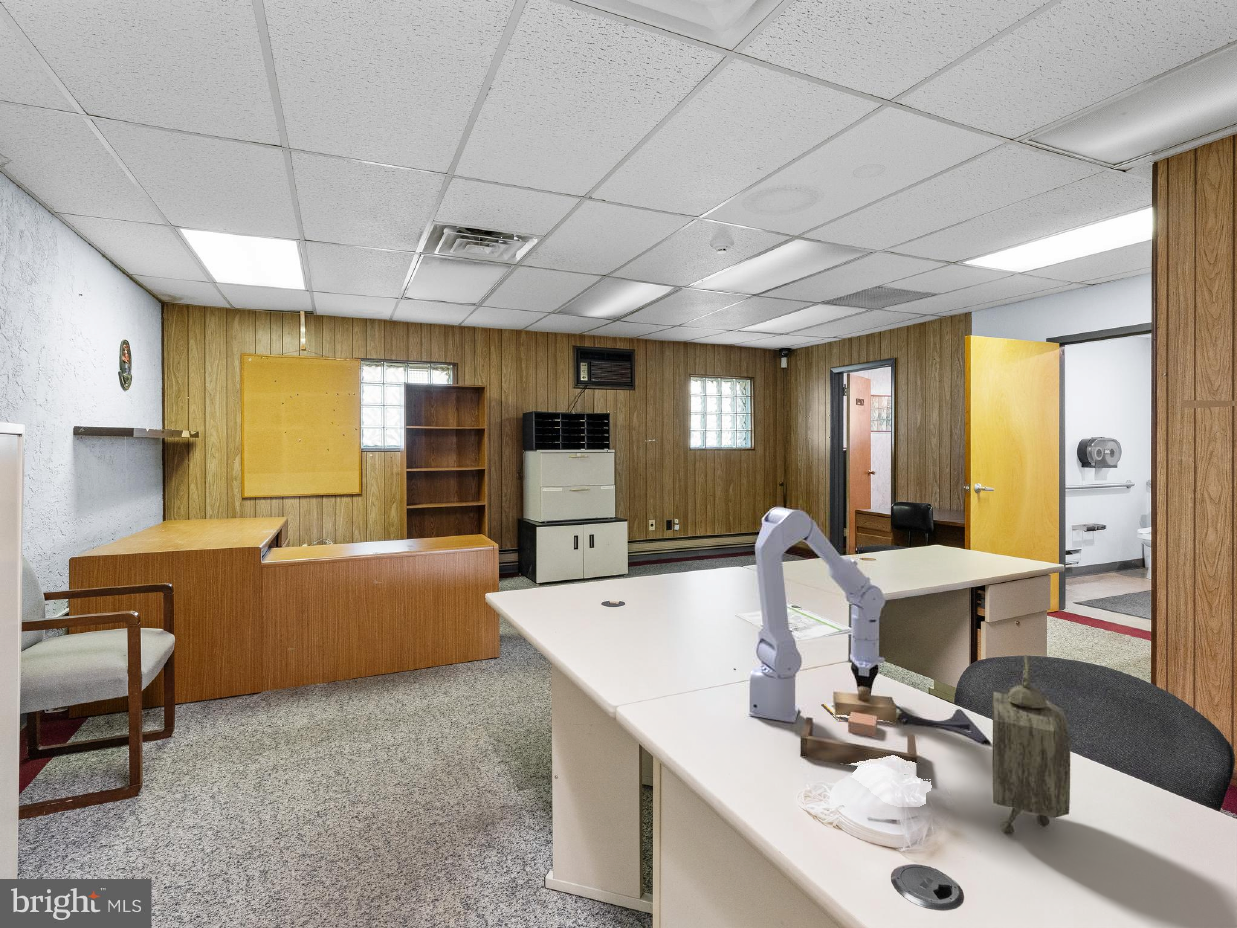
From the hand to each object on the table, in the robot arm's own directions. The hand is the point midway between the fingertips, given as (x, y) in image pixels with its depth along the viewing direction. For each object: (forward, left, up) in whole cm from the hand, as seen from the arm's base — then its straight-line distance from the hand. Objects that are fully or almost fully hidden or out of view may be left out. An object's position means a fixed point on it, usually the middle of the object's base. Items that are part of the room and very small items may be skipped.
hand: (864, 697), depth 138 cm
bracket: (+14, -5, -2) cm, 15 cm away
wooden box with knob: (0, -5, -2) cm, 6 cm away
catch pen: (0, -25, -2) cm, 25 cm away
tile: (0, -13, -2) cm, 13 cm away
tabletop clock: (+24, -37, -2) cm, 44 cm away
